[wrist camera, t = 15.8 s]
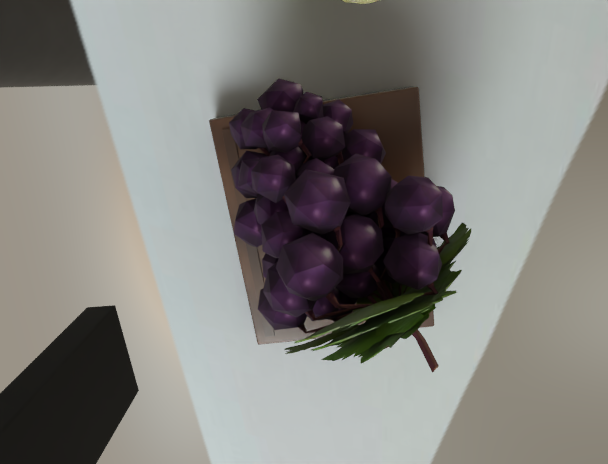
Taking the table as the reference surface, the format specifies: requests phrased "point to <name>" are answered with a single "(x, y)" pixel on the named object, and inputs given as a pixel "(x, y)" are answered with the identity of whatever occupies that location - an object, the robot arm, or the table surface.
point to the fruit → (339, 226)
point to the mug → (360, 1)
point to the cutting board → (366, 115)
